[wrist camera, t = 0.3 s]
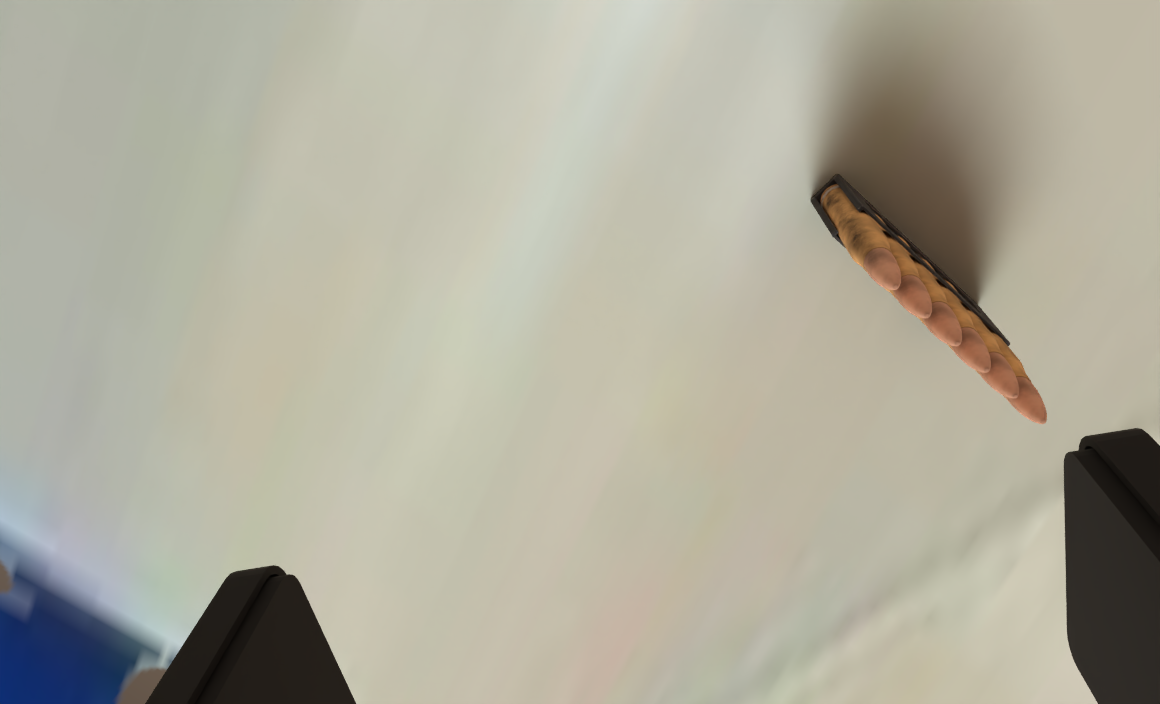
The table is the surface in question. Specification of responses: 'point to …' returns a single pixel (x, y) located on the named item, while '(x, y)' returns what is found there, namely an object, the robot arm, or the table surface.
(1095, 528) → the robot arm
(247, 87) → the table surface
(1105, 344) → the table surface
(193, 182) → the table surface
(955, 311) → the ammunition clip
